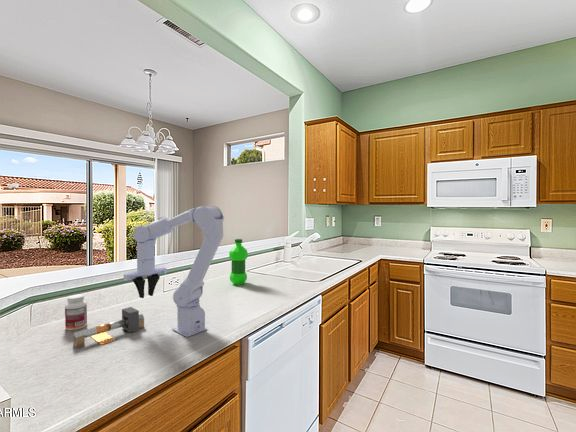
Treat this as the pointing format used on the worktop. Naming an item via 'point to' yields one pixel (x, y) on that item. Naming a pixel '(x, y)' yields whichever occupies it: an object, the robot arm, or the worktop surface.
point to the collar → (131, 319)
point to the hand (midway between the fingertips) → (146, 296)
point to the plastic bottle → (238, 263)
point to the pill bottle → (75, 312)
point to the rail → (102, 332)
